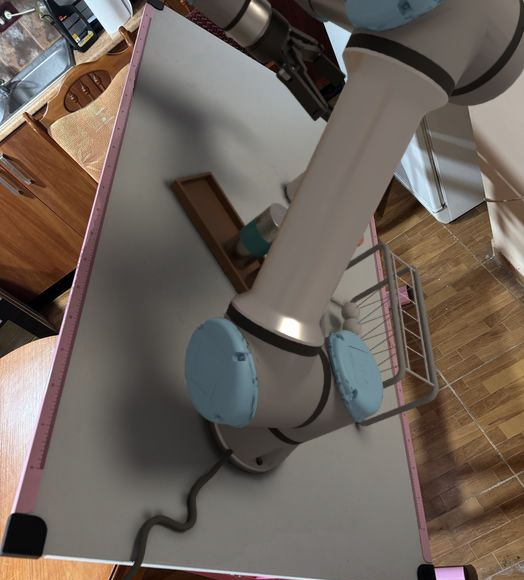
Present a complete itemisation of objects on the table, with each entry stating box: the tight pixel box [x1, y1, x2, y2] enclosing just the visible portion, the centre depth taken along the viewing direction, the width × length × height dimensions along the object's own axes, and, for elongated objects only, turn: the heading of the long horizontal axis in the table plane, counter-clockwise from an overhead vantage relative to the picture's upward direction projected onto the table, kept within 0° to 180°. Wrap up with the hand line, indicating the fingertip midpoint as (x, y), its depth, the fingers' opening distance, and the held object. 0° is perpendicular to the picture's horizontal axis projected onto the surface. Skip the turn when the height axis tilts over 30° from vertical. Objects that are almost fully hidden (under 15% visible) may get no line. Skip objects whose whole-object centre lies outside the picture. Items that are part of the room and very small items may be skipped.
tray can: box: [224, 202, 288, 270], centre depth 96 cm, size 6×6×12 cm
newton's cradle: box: [319, 242, 440, 427], centre depth 104 cm, size 30×10×18 cm, turn 178°
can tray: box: [169, 171, 266, 295], centre depth 99 cm, size 10×27×2 cm, turn 47°
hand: (343, 104), depth 103 cm, fingers open, 13 cm apart
